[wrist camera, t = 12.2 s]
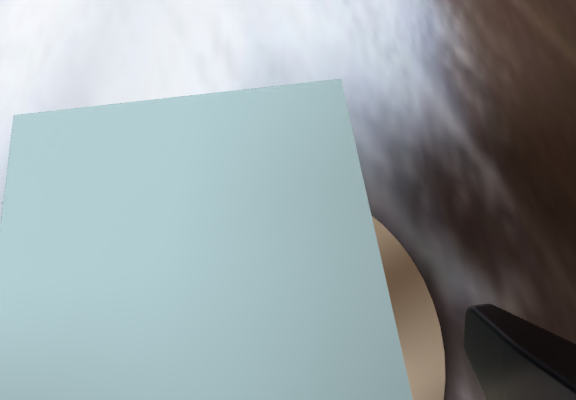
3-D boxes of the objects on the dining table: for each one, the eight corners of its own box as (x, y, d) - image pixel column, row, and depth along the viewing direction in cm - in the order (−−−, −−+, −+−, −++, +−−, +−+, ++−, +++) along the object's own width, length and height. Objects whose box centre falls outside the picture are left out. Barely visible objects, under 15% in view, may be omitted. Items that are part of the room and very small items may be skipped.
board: (519, 393, 16) (528, 393, 16) (190, 694, 13) (186, 707, 13) (295, 127, 21) (295, 120, 20) (8, 304, 18) (-1, 301, 17)
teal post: (326, 402, 16) (421, 434, 5) (195, 422, 15) (-34, 506, 4) (306, 274, 17) (340, 78, 6) (189, 290, 17) (13, 115, 6)
